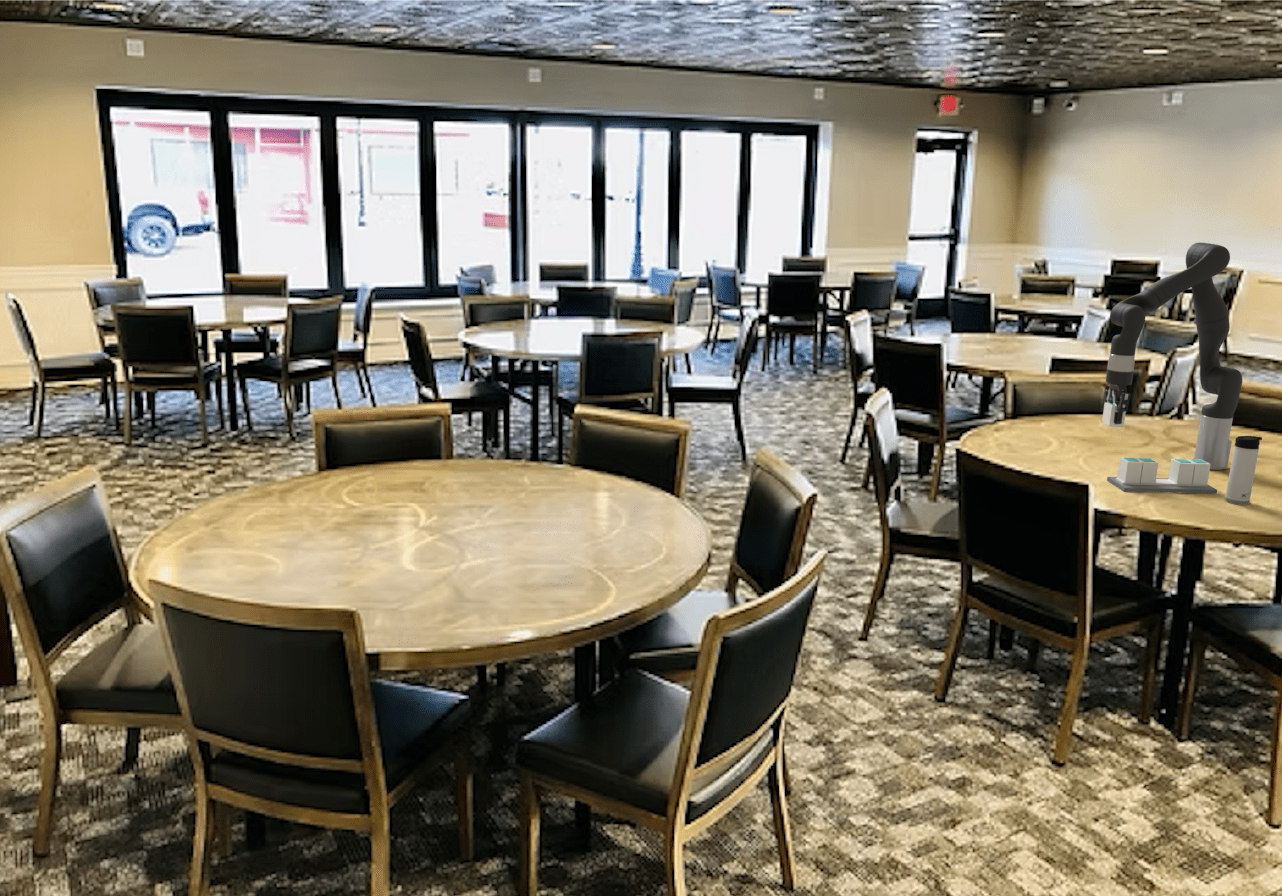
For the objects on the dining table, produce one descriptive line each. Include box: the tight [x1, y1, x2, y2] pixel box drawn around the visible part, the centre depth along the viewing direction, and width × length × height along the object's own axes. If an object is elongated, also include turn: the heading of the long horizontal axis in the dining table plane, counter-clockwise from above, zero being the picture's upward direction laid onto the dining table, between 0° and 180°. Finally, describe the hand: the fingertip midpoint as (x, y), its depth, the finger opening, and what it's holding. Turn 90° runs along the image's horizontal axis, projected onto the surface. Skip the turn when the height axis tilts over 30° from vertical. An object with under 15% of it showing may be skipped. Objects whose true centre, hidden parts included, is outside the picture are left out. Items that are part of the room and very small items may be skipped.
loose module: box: [1101, 403, 1127, 428], centre depth 331 cm, size 4×6×7 cm
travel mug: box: [1224, 435, 1263, 506], centre depth 307 cm, size 6×7×20 cm
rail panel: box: [1106, 457, 1218, 495], centre depth 322 cm, size 28×12×8 cm, turn 90°
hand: (1113, 421), depth 332 cm, fingers closed on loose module, 5 cm apart
